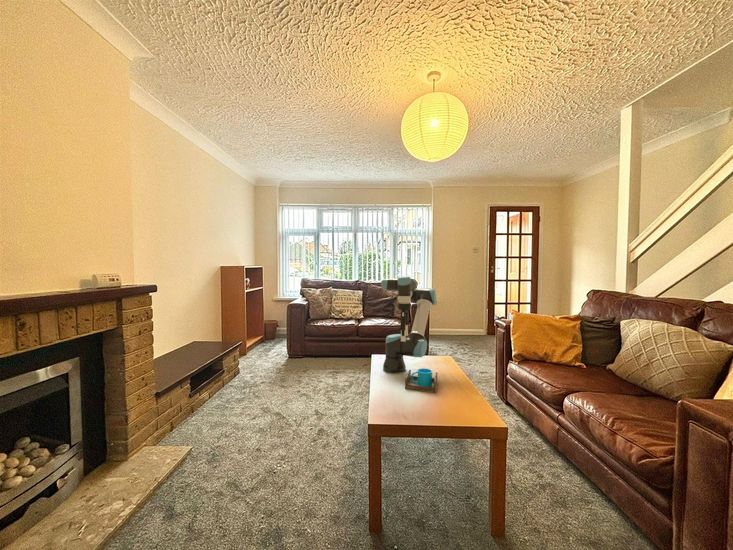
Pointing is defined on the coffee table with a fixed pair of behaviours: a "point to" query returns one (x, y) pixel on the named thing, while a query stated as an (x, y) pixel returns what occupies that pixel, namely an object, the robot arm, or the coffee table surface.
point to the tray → (413, 386)
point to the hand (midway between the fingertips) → (404, 338)
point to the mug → (423, 377)
